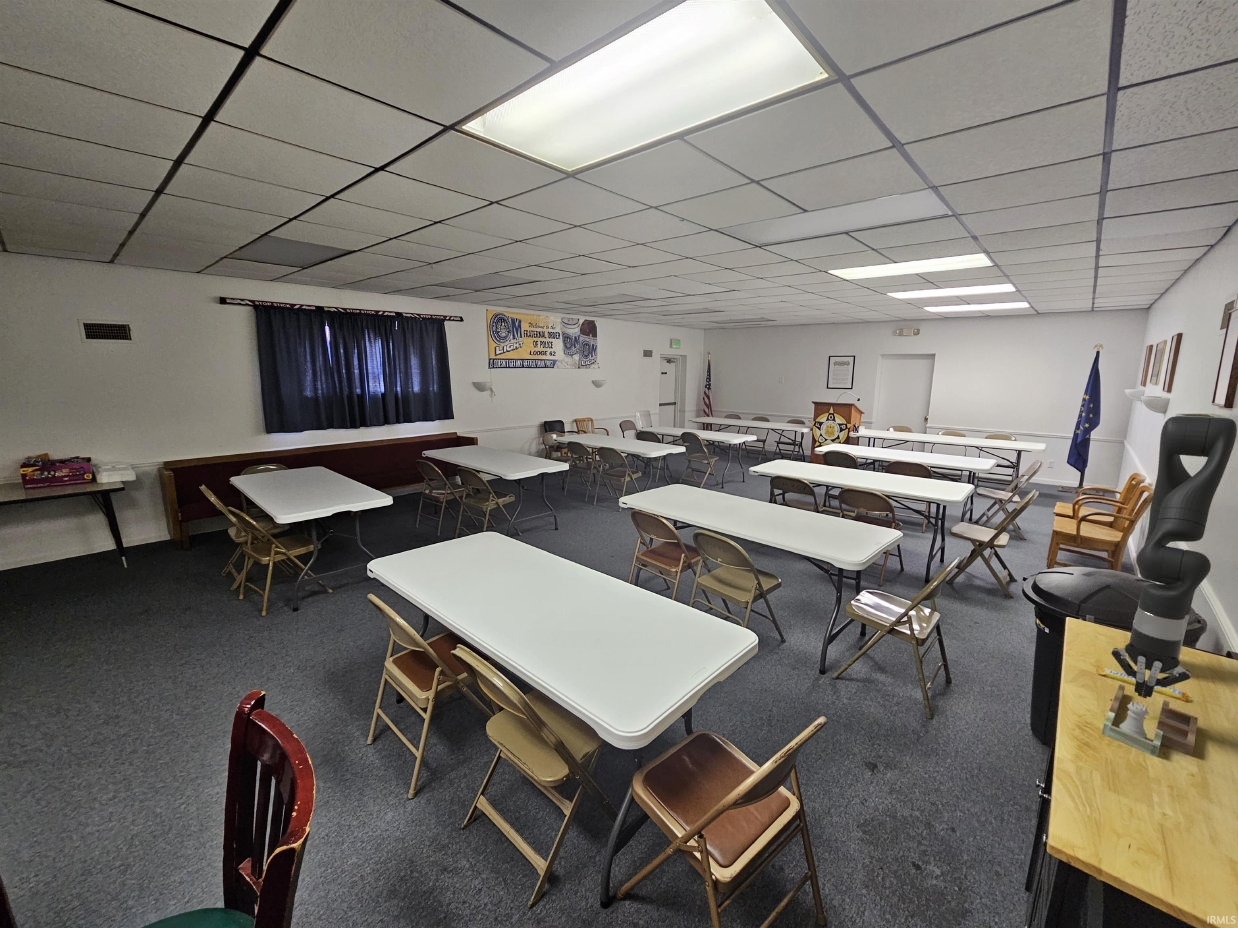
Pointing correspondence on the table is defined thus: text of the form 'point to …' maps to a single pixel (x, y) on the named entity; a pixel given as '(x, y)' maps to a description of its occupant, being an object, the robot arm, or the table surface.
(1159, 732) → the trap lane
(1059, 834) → the table surface
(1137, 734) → the rook chess piece
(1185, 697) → the candy bar
